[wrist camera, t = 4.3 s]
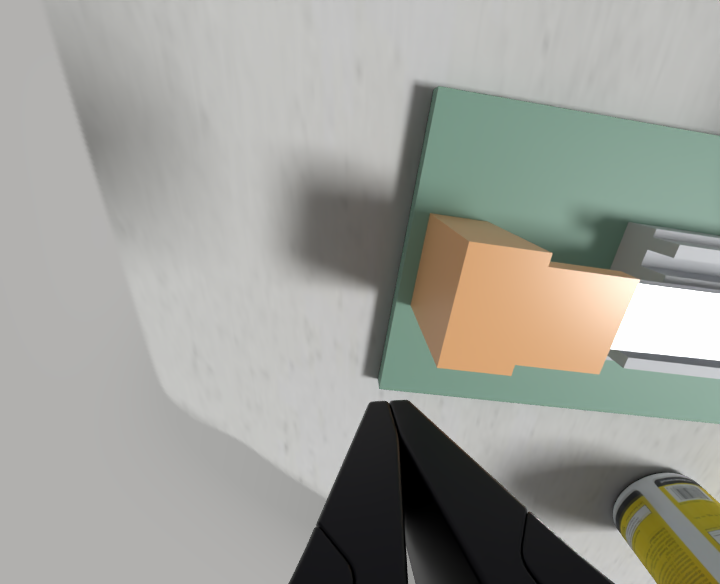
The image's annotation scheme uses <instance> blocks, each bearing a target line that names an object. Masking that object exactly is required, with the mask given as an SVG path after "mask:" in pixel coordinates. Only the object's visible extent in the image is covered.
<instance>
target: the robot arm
mask: <svg viewBox="0 0 720 584" xmlns="http://www.w3.org/2000/svg"><path fill="white" fill-rule="evenodd" d="M316 526H317V527H315V528H314V530H313V532H312V535H311V537H310V539H309V542H308V544H307V547H306V548H305V551H304V553H303V555H302V557H301V559H300V561H299V563H298V566H297V567H296V570H295V572H294V574H293V576H292V578H291V580H290V582H289V584H408V574H407V557H406V547H407V551H408V555H409V559H410V563H411V567H412V571H413V575H414V579H415V583H416V584H615V583H613V582H612V581H611V580H610V579H608V578H607V577H606V576H605V575H603V574H602V573H601V572H600V571H599V570H597V569H596V568H595V567H594V566H592V565H591V564H590V563H589V562H587V561H586V560H585V559H584V558H582V557H581V556H580V555H579V554H578V553H577V552H575V551H574V550H573V549H572V548H571V547H570V546H569V545H567V544H566V543H565V542H564V541H563V540H562V539H561V538H559V537H558V536H557V535H556V534H555V533H554V532H553V531H551V530H550V529H549V528H548V527H547V526H546V525H545V524H544V523H543V522H541V521H540V520H539V519H538V518H537V517H536V516H535V515H534V514H533V513H532V512H528V513H527V508H526V507H525V506H524V505H523V504H522V503H520V502H519V501H518V500H517V499H516V498H515V497H514V496H513V495H512V494H511V493H509V492H508V491H507V490H506V489H505V488H504V487H503V486H502V485H501V484H500V483H499V482H497V481H496V480H495V479H494V478H493V477H492V476H491V475H490V474H489V473H488V472H486V471H485V470H484V469H483V468H482V467H481V466H480V465H479V464H478V463H477V462H476V461H474V460H473V459H472V458H471V457H470V456H469V455H468V454H467V453H466V452H465V451H463V450H462V449H461V448H460V447H459V446H458V445H457V444H456V443H455V442H454V441H453V440H451V439H450V438H449V437H448V436H447V435H446V434H445V433H444V432H443V431H442V430H440V429H439V428H438V427H437V426H436V425H435V424H434V423H433V422H432V421H431V420H430V419H428V418H427V417H426V416H425V415H424V414H423V413H422V412H421V411H420V410H419V409H418V408H416V407H415V406H414V405H413V404H412V403H411V402H410V401H408V400H395V401H390V403H388V402H387V401H375V402H370V403H369V404H368V406H367V409H366V411H365V413H364V416H363V418H362V420H361V423H360V425H359V427H358V429H357V432H356V434H355V436H354V439H353V441H352V443H351V446H350V448H349V450H348V452H347V455H346V457H345V459H344V462H343V464H342V466H341V469H340V471H339V473H338V475H337V478H336V480H335V482H334V485H333V487H332V489H331V492H330V494H329V496H328V498H327V501H326V503H325V505H324V508H323V510H322V512H321V515H320V517H319V519H318V521H317V525H316Z"/></svg>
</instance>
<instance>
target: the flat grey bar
mask: <svg viewBox="0 0 720 584" xmlns="http://www.w3.org/2000/svg"><path fill="white" fill-rule="evenodd" d="M610 349H615V350H624V351H634V352H643V353H653V354H662V355H672V356H681V357H691V358H700V359H710V360H719V361H720V290H716V289H709V288H701V287H693V286H685V285H678V284H670V283H662V282H655V281H647V280H640V282H639V284H638V286H637V289H636V291H635V293H634V295H633V298H632V300H631V302H630V305H629V307H628V309H627V312H626V314H625V316H624V319H623V321H622V323H621V325H620V328H619V330H618V332H617V335H616V337H615V339H614V342H613V344H612V346H611V348H610Z"/></svg>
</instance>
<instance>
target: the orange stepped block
mask: <svg viewBox="0 0 720 584" xmlns="http://www.w3.org/2000/svg"><path fill="white" fill-rule="evenodd" d="M552 254H553V253H551V252H549V251H547V250H545V249H543V248H541V247H539V246H537V245H535V244H533V243H531V242H529V241H527V240H525V239H523V238H521V237H519V236H516V235H514V234H512V233H510V232H508V231H506V230H504V229H502V228H500V227H498V226H496V225H494V224H492V223H490V222H487V221H480V220H473V219H466V218H459V217H453V216H446V215H439V214H432V213H430V216H429V221H428V225H427V230H426V235H425V239H424V244H423V249H422V254H421V258H420V263H419V268H418V273H417V277H416V282H415V287H414V292H413V296H412V301H411V308H412V310H413V312H414V315H415V317H416V320H417V322H418V324H419V327H420V329H421V331H422V334H423V336H424V338H425V341H426V343H427V345H428V348H429V350H430V352H431V355H432V357H433V359H434V362H435V364H436V367H437V368H443V369H452V370H461V371H470V372H479V373H489V374H498V375H507V376H511V375H512V372H513V369H514V367H515V365H519V366H528V367H537V368H546V369H555V370H564V371H573V372H582V373H590V374H600V372H601V369H602V367H603V365H604V362H605V360H606V358H607V355H608V353H609V351H610V348H611V346H612V344H613V342H614V339H615V337H616V335H617V332H618V330H619V328H620V325H621V323H622V321H623V319H624V316H625V314H626V312H627V309H628V307H629V305H630V302H631V300H632V298H633V295H634V293H635V291H636V289H637V286H638V284H639V282H640V279H638V278H636V277H633V276H631V275H629V274H626V273H624V272H622V271H616V270H609V269H601V268H594V267H587V266H580V265H573V264H565V263H558V262H551V261H550V260H551V257H552Z"/></svg>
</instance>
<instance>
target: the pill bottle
mask: <svg viewBox="0 0 720 584" xmlns="http://www.w3.org/2000/svg"><path fill="white" fill-rule="evenodd" d="M613 519H614V523H615V525H616V527H617V529H618V530H619V532H620V533H621V535H622V536H623V538H624V539H625V540H626V542H627V543H628V544H629V546H630V547H631V548H632V550H633V551H634V553H635V554H636V555H637V557H638V558H639V559H640V561H641V562H642V564H643V565H644V566H645V568H646V569H647V570H648V572H649V573H650V574H651V576H652V577H653V579H654V580H655V581H656V583H657V584H720V503H719V502H717V501H716V500H715V499H714V498H713V497H712V496H711V495H710V494H709V493H708V492H707V491H706V490H705V489H704V488H702V487H701V486H700V485H699V484H698V483H696V482H695V481H694V480H692V479H691V478H689V477H687V476H684V475H681V474H676V473H659V474H654V475H650V476H647V477H644V478H642V479H640V480H638V481H636V482H634V483H633V484H631V485H630V486H629V487H627V488H626V489H625V490H624V491H623V492H622V493H621V494H620V496H619V497H618V499H617V500H616V503H615V505H614V509H613Z"/></svg>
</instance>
